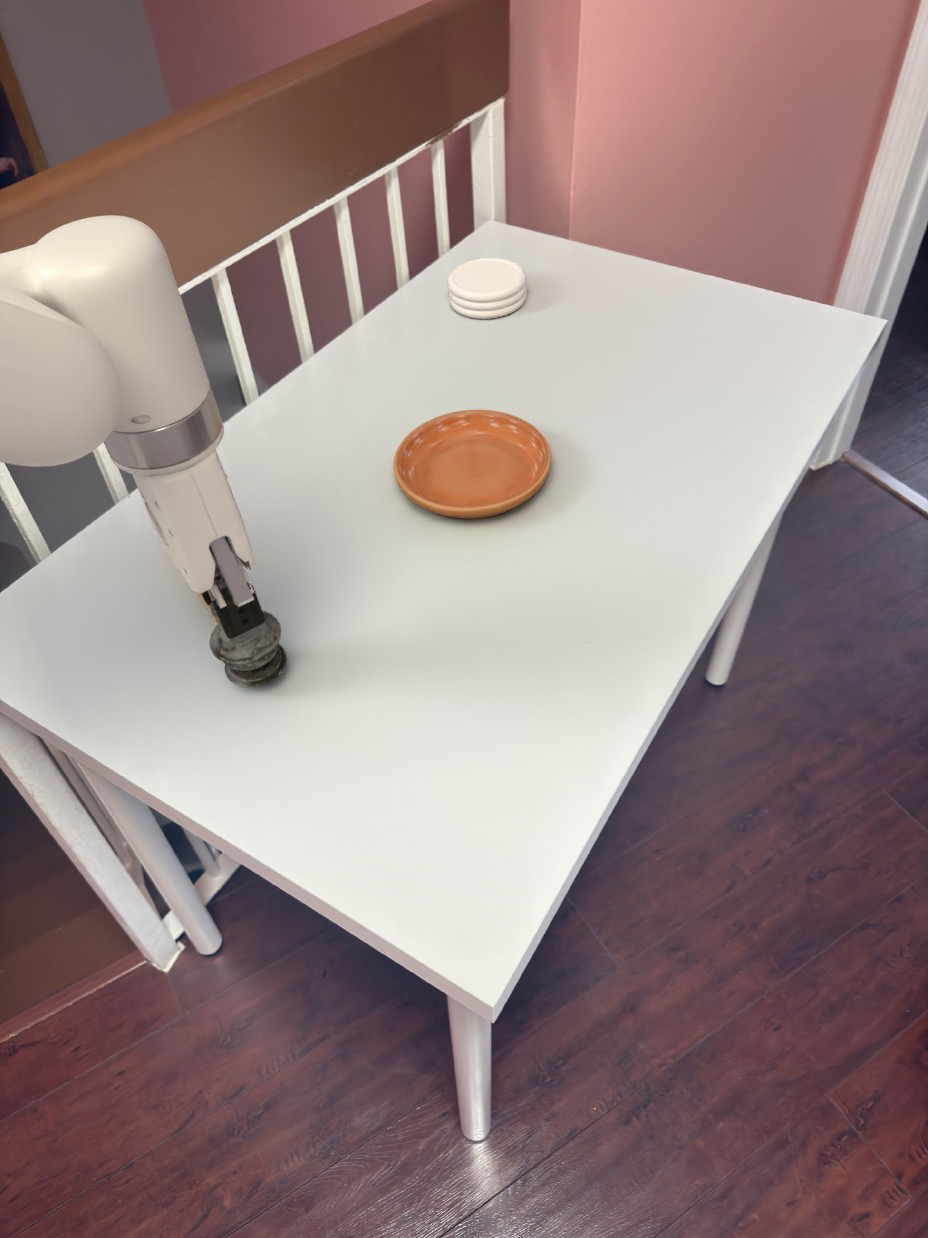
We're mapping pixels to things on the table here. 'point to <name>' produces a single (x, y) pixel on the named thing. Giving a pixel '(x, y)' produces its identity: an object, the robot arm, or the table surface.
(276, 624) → the salt shaker
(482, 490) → the saucer
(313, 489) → the table surface
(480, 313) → the coaster
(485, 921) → the table surface
